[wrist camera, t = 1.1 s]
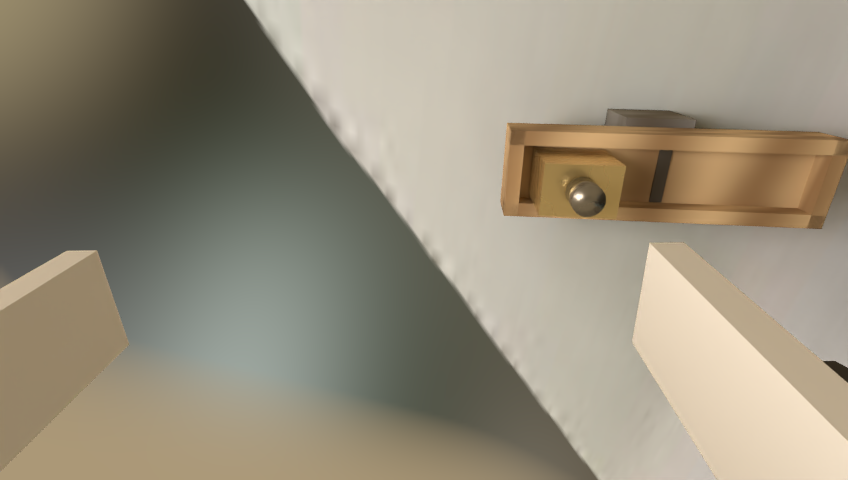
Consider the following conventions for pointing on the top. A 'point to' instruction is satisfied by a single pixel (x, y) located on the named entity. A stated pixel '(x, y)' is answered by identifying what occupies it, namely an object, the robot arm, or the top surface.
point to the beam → (691, 169)
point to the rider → (576, 182)
